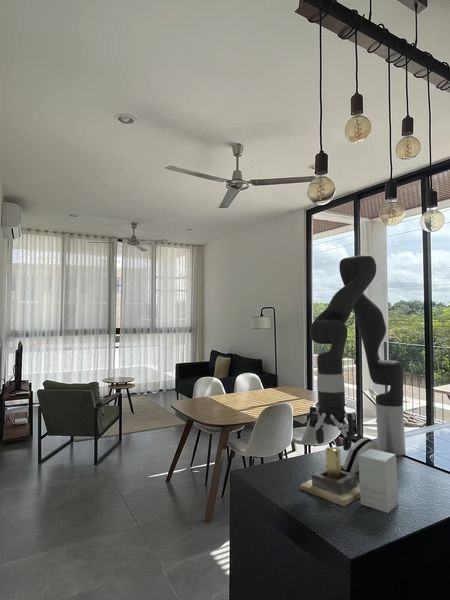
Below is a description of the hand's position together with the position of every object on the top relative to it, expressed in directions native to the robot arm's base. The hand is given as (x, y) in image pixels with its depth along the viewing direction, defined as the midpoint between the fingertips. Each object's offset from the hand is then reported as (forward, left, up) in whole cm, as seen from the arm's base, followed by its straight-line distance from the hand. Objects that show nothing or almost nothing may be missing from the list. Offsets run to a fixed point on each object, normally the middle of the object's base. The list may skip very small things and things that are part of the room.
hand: (333, 446), depth 106 cm
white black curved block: (-22, -4, -13) cm, 26 cm away
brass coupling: (0, 0, -11) cm, 11 cm away
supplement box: (-1, +13, -12) cm, 18 cm away
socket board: (0, 0, -12) cm, 12 cm away
